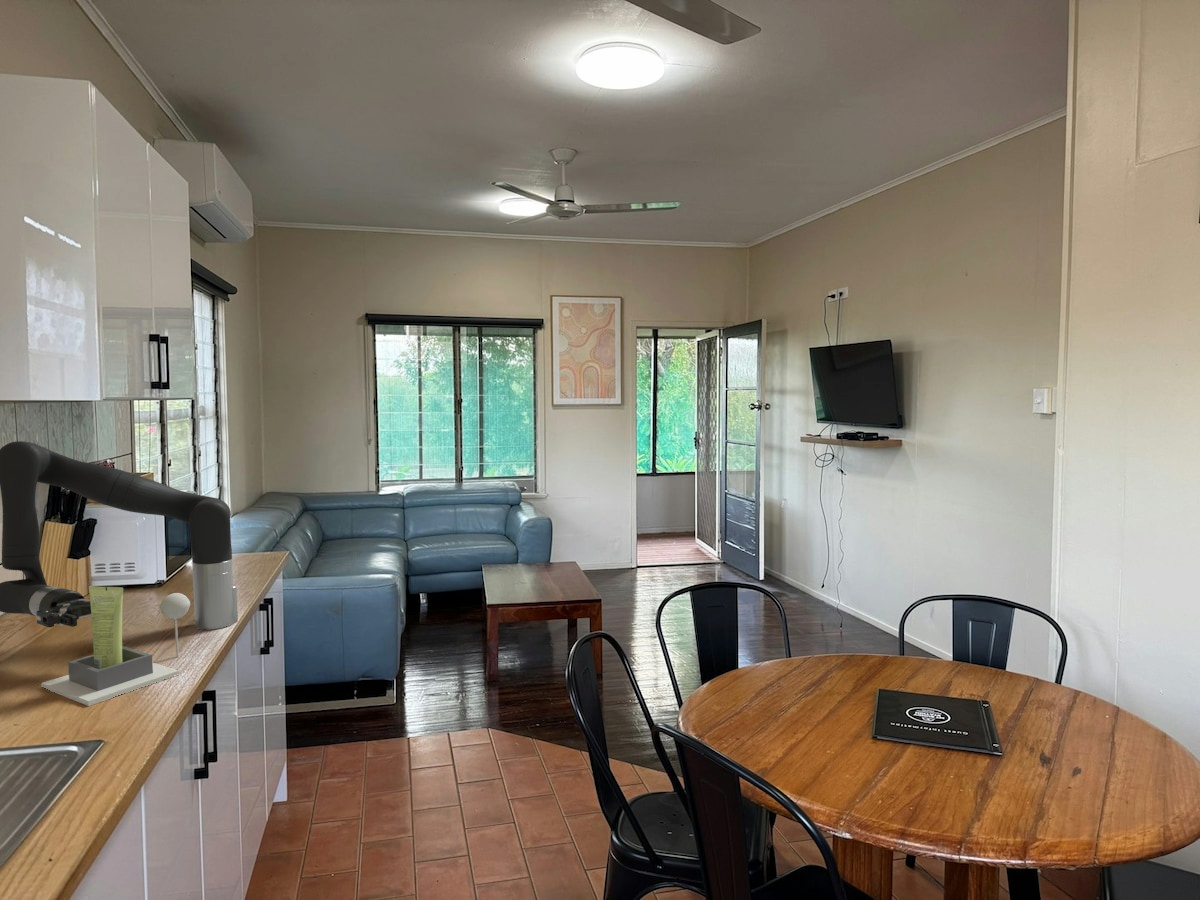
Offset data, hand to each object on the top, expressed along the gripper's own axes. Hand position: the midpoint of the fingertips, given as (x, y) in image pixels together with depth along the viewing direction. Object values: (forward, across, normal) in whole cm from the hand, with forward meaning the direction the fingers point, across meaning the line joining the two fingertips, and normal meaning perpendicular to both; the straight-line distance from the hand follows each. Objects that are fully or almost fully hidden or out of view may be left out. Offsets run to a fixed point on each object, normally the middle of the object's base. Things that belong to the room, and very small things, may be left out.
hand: (97, 616), depth 158 cm
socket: (+5, 0, +13) cm, 14 cm away
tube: (+4, 0, +13) cm, 13 cm away
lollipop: (+3, +15, +14) cm, 21 cm away
